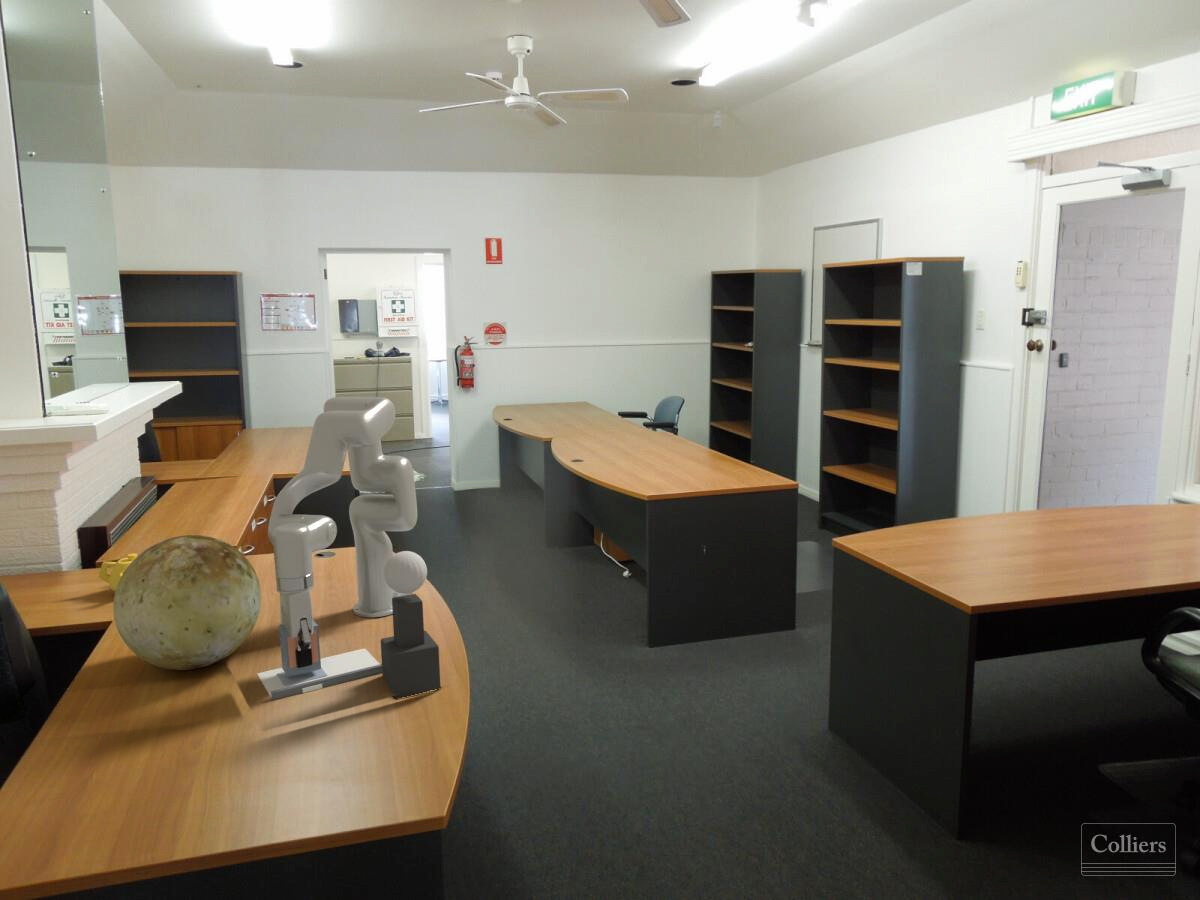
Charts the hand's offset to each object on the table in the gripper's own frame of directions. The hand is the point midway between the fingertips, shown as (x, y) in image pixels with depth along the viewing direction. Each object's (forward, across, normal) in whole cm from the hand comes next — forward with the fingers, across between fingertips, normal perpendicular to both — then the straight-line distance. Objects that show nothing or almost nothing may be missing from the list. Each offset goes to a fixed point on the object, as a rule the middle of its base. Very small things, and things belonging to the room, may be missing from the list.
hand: (301, 660), depth 182 cm
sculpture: (+5, +16, +19) cm, 25 cm away
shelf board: (+5, +1, +4) cm, 6 cm away
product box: (+2, 0, 0) cm, 2 cm away
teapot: (+5, -87, -25) cm, 91 cm away
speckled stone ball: (+5, -23, -18) cm, 30 cm away
